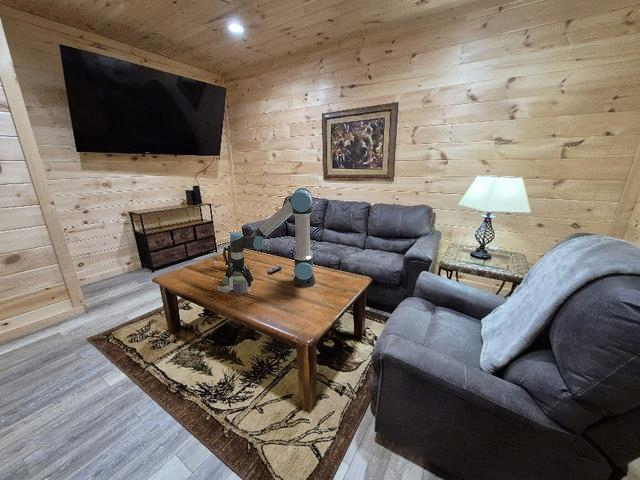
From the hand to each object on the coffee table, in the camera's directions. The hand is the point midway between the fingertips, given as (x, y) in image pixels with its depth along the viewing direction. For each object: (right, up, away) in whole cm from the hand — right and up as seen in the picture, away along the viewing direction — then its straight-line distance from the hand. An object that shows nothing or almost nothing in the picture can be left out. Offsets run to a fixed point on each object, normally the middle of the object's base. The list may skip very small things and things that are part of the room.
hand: (239, 289), depth 167 cm
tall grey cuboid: (0, -2, +1) cm, 2 cm away
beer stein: (-16, +8, +35) cm, 40 cm away
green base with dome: (-7, +1, +10) cm, 13 cm away
